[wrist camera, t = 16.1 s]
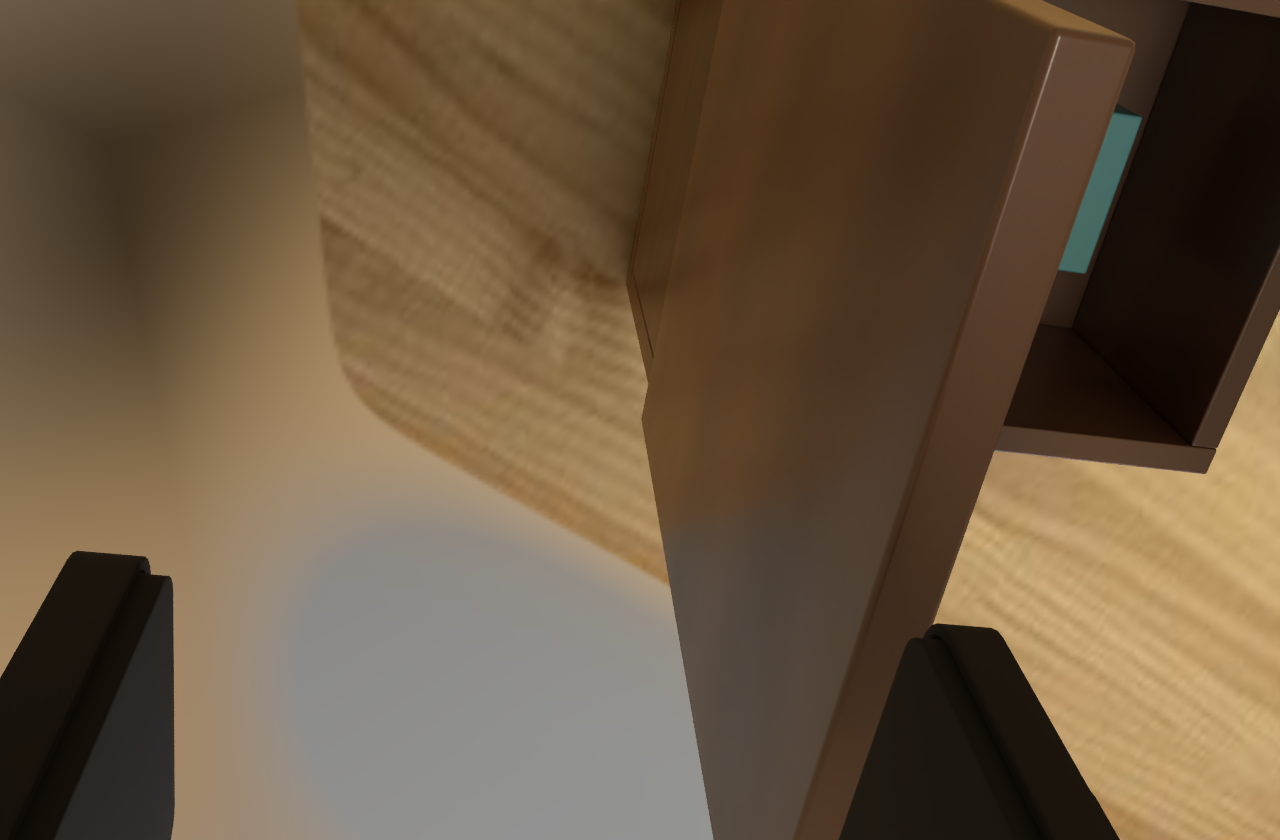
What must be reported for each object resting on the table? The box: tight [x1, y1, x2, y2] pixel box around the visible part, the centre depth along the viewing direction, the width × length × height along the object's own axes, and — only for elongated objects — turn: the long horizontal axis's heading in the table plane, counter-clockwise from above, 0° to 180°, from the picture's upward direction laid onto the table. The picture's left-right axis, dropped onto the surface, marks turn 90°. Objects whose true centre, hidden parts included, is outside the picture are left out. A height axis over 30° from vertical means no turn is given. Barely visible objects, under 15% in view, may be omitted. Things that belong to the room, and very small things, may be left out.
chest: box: [626, 0, 1280, 474], centre depth 33 cm, size 16×13×9 cm
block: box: [1058, 104, 1142, 274], centre depth 34 cm, size 4×4×4 cm
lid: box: [642, 0, 1135, 840], centre depth 20 cm, size 16×13×1 cm
